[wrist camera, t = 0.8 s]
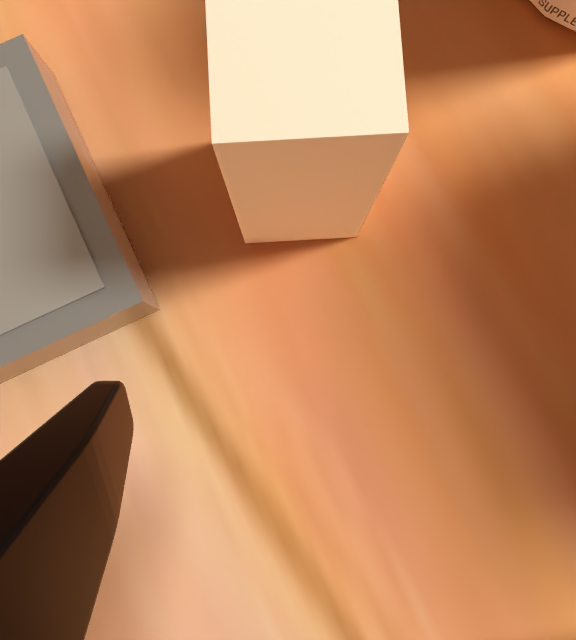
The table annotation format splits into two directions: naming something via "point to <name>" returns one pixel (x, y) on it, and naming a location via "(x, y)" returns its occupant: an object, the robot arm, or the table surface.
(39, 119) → the plate
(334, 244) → the table surface
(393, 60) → the block
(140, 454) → the table surface
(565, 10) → the supplement can
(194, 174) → the table surface
